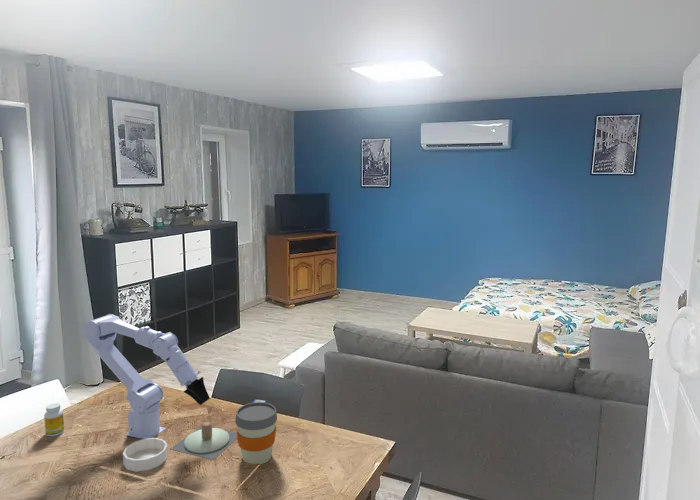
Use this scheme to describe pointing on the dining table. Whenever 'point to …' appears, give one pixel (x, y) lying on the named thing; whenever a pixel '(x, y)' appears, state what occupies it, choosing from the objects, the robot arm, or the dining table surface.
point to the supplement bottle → (54, 420)
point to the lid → (206, 439)
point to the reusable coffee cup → (256, 431)
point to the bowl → (145, 454)
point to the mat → (211, 455)
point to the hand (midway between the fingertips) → (205, 402)
